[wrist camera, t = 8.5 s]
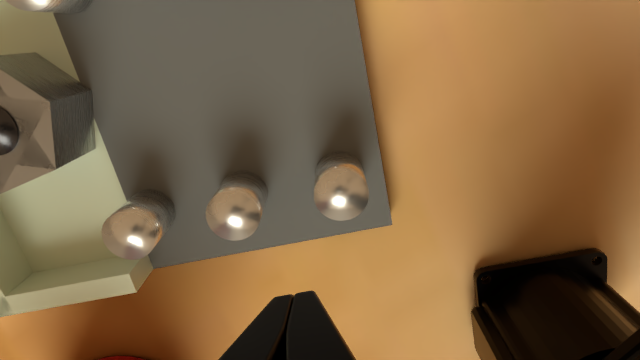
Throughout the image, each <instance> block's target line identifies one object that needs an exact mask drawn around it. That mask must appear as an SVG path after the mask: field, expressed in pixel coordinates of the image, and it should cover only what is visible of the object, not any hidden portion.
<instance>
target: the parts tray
mask: <svg viewBox="0 0 640 360" xmlns="http://www.w3.org/2000/svg"><path fill="white" fill-rule="evenodd" d="M33 52H36V53H38V54H39V55H41V56H42V57H44V58H45V59H47V60H48V61H50V62H51V63H53V64H54V65H56V66H57V67H58V68H60V69H61V70H63V71H64V72H66V73H67V74H69V75H70V76H72V77H73V78H75V79H76V80H78V81H79V78H78V76H77V73H76V71H75V68H74V66H73V63H72V60H71V58H70V55H69V53H68V50H67V48H66V45H65V43H64V40H63V38H62V35H61V32H60V30H59V27H58V25H57V22H56V20H55V17H54V15H53V13H51V12H34V11H24V10H20V9H18V8H16V7H14V6H12V5H10V4H9V3H8V2H6V1H5V0H0V55H8V54H21V53H33ZM79 82H80V81H79ZM94 127H95V144H96V149H94V150H92V151H90V152H88V153H87V154H85V155H83V156H81V157H79V158H77V159H75V160H73V161H71V162H69V163H67V164H66V165H64V166H62V167H60V168H58V169H56V170H54V171H52V172H49V173H47V174H45V175H42V176H40V177H38V178H36V179H33V180H31V181H29V182H27V183H24V184H22V185H20V186H18V187H15V188H13V189H11V190H8V191H6V192H4V193H2V194H0V317H4V316H9V315H15V314H20V313H26V312H31V311H37V310H42V309H48V308H54V307H59V306H65V305H70V304H76V303H81V302H87V301H92V300H98V299H103V298H109V297H114V296H120V295H126V294H131V293H137V291H138V290H139V288H140V287H141V286H142V284H143V283H144V281H145V280H146V279H147V277H148V276H149V274H150V273H151V272H152V270H153V267H152V264H151V262H150V259H149V256H148V255H147V256H145V257H143V258H141V259H136V260H128V259H124V258H121V257H118V256H117V255H115V254H113V253H112V252H111V251H110V250H109V249H108V248H107V247H106V245H105V244H104V242H103V239H102V233H101V232H102V226H103V224H104V222H105V221H106V219H107V218H108V217H110V216H111V215H112V214H113V213H114V212H115V211H116V210H118V209H119V208H120V207H121V206H122V205H123V204H124V203H126V202H127V200H126V198H125V195H124V193H123V190H122V188H121V185H120V183H119V180H118V178H117V175H116V172H115V170H114V167H113V165H112V162H111V160H110V157H109V155H108V152H107V150H106V147H105V144H104V142H103V139H102V137H101V134H100V132H99V129H98V127H97V124H96V122H95V119H94Z"/></svg>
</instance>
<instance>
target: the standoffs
mask: <svg viewBox="0 0 640 360" xmlns="http://www.w3.org/2000/svg"><path fill="white" fill-rule="evenodd" d="M5 1H6V2H8V3H9V4H10V5H12V6H14V7H16V8H18V9H20V10H24V11H34V12H51V13H67V14H76V13H80V12H83V11H85V10H86V9H87V8H88V7H89V6H90V5H91V4H92V2H93V0H5ZM267 196H268V191H267V187H266V185H265V183H264V181H263V180H262V179H261V178H260V177H259V176H258V175H256V174H254V173H252V172H249V171H236V172H233V173H231V174H229V175H228V176H227V177H226V178H225V179H224V181H223V182H222V184H221V185H220V187H219V188H218V190H217V191H216V193H215V194H214V196H213V197H212V199H211V200H210V202H209V203H208V205H207V208H206V220H207V223H208V225H209V227H210V229H211V230H212V231H213V232H214V233H215V234H216V235H218V236H219V237H221V238H223V239H226V240H232V241H237V240H243V239H245V238H248V237H249V236H251V235H252V234H253V233H254V232H255V231H256V229H257V227H258V225H259V222H260V219H261V216H262V213H263V210H264V207H265V204H266V201H267ZM368 199H369V190H368V186H367V183H366V179H365V176H364V172H363V168H362V166H361V163H360V162H359V160H358V159H357V158H356V157H355V156H353V155H352V154H350V153H347V152H342V151H337V152H332V153H329V154H327V155H325V156H324V157H323V158H322V159H321V160H320V161H319V163H318V164H317V167H316V170H315V183H314V201H315V204H316V206H317V208H318V210H319V211H320V212H321V213H322V214H323V215H324V216H326V217H328V218H330V219H332V220H337V221H345V220H350V219H352V218H354V217H356V216H358V215H359V214H360V213H361V212H362V211H363V210H364V209H365V207H366V205H367V203H368ZM175 214H176V212H175V207H174V205H173V203H172V201H171V200H170V199H169V198H168V197H167V196H166V195H165V194H163V193H161V192H159V191H157V190H151V189H147V190H142V191H139V192H137V193H136V194H135V195H134V196H132V197H131V198H130V199H129V200H128V201H127V202H126V203H124V204H123V205H122V206H121V207H120V208H119V209H118V210H116V211H115V212H114V213H113V214H112V215H111V216H110V217H108V218H107V219H106V221H105V222H104V224H103V226H102V232H101V233H102V239H103V242H104V244H105V245H106V247H107V248H108V249H109V250H110V251H111V252H112V253H113V254H115V255H117V256H118V257H121V258H124V259H128V260H136V259H141V258H143V257H145V256H147V255H148V254H149V253H150V252H151V251H152V250H153V248H154V247H155V246H156V244H157V243H158V242H159V240H160V239H161V238H162V237H163V235H164V234H165V233H166V231H167V230H168V229H169V228H170V226H171V225H172V224H173V222H174V220H175Z"/></svg>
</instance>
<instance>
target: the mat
mask: <svg viewBox="0 0 640 360" xmlns="http://www.w3.org/2000/svg"><path fill="white" fill-rule="evenodd" d="M53 15H54V17H55V20H56V22H57V25H58V27H59V30H60V32H61V35H62V38H63V40H64V43H65V45H66V48H67V50H68V53H69V55H70V58H71V60H72V63H73V66H74V68H75V71H76V73H77V76H78V78H79V81H80V82H81V83H82V84H84V85H85V86H87V87H88V88H90V89H91V90H92V92H93V109H94V119H95V122H96V124H97V127H98V129H99V132H100V134H101V137H102V139H103V142H104V144H105V147H106V150H107V152H108V155H109V157H110V160H111V162H112V165H113V167H114V170H115V172H116V175H117V178H118V180H119V183H120V185H121V188H122V190H123V193H124V195H125V198H126V200H127V201H128V200H129V199H130V198H131V197H132V196H134V195H135V194H136V193H137V192H139V191H142V190H147V189H151V190H157V191H159V192H161V193H163V194H165V195H166V196H167V197H168V198H169V199H170V200H171V201H172V203H173V205H174V207H175V212H176V214H175V220H174V222H173V224H172V225H171V226H170V228H169V229H168V230H167V231H166V233H165V234H164V235H163V237H162V238H161V239H160V240H159V242H158V243H157V244H156V246H155V247H154V248H153V250H152V251H151V252H150V253H149V254H148V256H149V259H150V262H151V264H152V267H153V269H155V268H161V267H166V266H172V265H177V264H183V263H188V262H193V261H199V260H204V259H210V258H215V257H221V256H226V255H231V254H237V253H242V252H248V251H253V250H258V249H264V248H269V247H275V246H280V245H286V244H291V243H296V242H302V241H307V240H313V239H318V238H324V237H329V236H334V235H340V234H345V233H351V232H356V231H361V230H367V229H372V228H378V227H383V226H389V225H392V220H391V214H390V208H389V202H388V196H387V190H386V184H385V178H384V172H383V166H382V160H381V154H380V149H379V143H378V137H377V131H376V125H375V119H374V113H373V107H372V101H371V95H370V89H369V83H368V77H367V71H366V65H365V59H364V53H363V47H362V42H361V36H360V30H359V24H358V18H357V12H356V6H355V0H93V2H92V4H91V5H90V6H89V7H88V8H87V9H86V10H85V11H83V12H80V13H76V14H67V13H53ZM337 151H342V152H347V153H350V154H352V155H353V156H355V157H356V158H357V159H358V160H359V162H360V163H361V166H362V168H363V172H364V176H365V179H366V183H367V186H368V190H369V199H368V203H367V205H366V207H365V209H364V210H363V211H362V212H361V213H360V214H359V215H358V216H356V217H354V218H352V219H350V220H345V221H337V220H332V219H330V218H328V217H326V216H324V215H323V214H322V213H321V212H320V211H319V210H318V208H317V206H316V204H315V201H314V183H315V170H316V167H317V164H318V163H319V161H320V160H321V159H322V158H323V157H324V156H325V155H327V154H329V153H332V152H337ZM236 171H249V172H252V173H254V174H256V175H258V176H259V177H260V178H261V179H262V180H263V181H264V183H265V185H266V187H267V191H268V196H267V201H266V204H265V207H264V210H263V213H262V216H261V219H260V222H259V225H258V227H257V229H256V231H255V232H254V233H253V234H252V235H251V236H249V237H248V238H245V239H243V240H237V241H232V240H226V239H223V238H221V237H219V236H218V235H216V234H215V233H214V232H213V231H212V230H211V229H210V227H209V225H208V223H207V220H206V208H207V205H208V203H209V202H210V200H211V199H212V197H213V196H214V194H215V193H216V191H217V190H218V188H219V187H220V185H221V184H222V182H223V181H224V179H225V178H226V177H227V176H228V175H229V174H231V173H233V172H236Z"/></svg>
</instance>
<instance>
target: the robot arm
mask: <svg viewBox="0 0 640 360" xmlns="http://www.w3.org/2000/svg"><path fill="white" fill-rule="evenodd" d="M594 257H597V258H596V259H595V260H594V261H592V259H593V258H594ZM484 276H488V277H487V279H485V280H481V279H482V277H484ZM474 286H475V296H476V307H473V309H472V311H471V316H472V325H473V335H474V344H475V348H476V351H477V353H478V355H479V357H480V359H481V360H640V313H639V312H638V311H637V310H636V309H635V308H634V307H633V306H632V305H631V304H629V303H628V302H627V301H626V300H625V299H624V298H623V297H622V296H621V295H619V294H618V293H617V292H616V291H615V290H614V289H613V288H612V287H610V286H609V285H608V284H607V256H606V255H605V254H604V253H603V252H602V251H600V250H599V249H596V248H592V249H586V250H580V251H574V252H569V253H563V254H557V255H551V256H546V257H540V258H534V259H528V260H523V261H517V262H511V263H505V264H500V265H494V266H488V267H482V268H480V269H478V270H477V271H476V272H475V273H474ZM219 360H356V359H355V357H354V356H353V354H352V352H351V351H350V349H349V347H348V346H347V344H346V342H345V341H344V339H343V337H342V336H341V334H340V333H339V331H338V329H337V328H336V326H335V324H334V323H333V321H332V319H331V318H330V316H329V314H328V313H327V311H326V309H325V308H324V306H323V304H322V303H321V301H320V300H319V298H318V296H317V295H316V293H315V292H314V291H306V292H301V293H297V294H295V295H294V296H293V295H292V294H290V295H284V296H278V297H275V298H273V299H272V300H271V301H270V302H269V304H268V305H267V306H266V307H265V308H264V309H263V310H262V311H261V312H260V314H259V315H258V316H257V317H256V318H255V319H254V320H253V321H252V323H251V324H250V325H249V326H248V327H247V328H246V329H245V330H244V332H243V333H242V334H241V335H240V336H239V337H238V338H237V339H236V341H235V342H234V343H233V344H232V345H231V346H230V347H229V348H228V349H227V351H226V352H225V353H224V354H223V355H222V356H221V357H220V358H219Z"/></svg>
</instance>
